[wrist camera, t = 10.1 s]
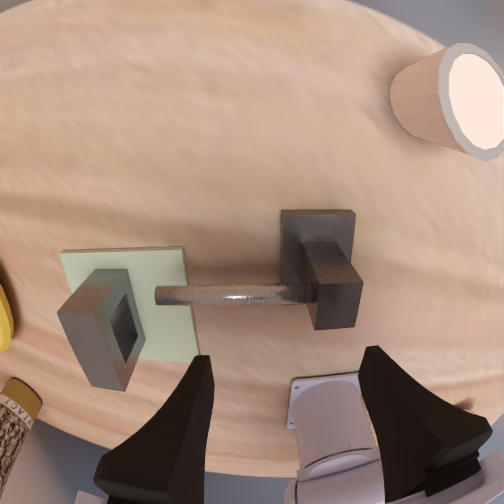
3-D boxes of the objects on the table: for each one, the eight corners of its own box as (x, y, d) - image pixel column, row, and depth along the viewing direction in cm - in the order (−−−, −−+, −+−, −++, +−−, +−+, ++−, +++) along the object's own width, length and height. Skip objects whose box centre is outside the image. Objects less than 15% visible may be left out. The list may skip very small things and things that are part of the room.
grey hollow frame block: (146, 339, 23) (125, 391, 18) (116, 337, 23) (91, 386, 18) (127, 268, 21) (93, 315, 15) (95, 268, 21) (56, 312, 15)
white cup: (364, 73, 16) (417, 54, 9) (431, 50, 14) (490, 35, 8) (405, 160, 18) (464, 180, 12) (464, 130, 17) (525, 140, 10)
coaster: (200, 357, 25) (199, 362, 24) (97, 350, 25) (95, 353, 24) (183, 246, 21) (181, 250, 20) (62, 250, 21) (59, 253, 20)
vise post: (341, 294, 22) (367, 349, 16) (182, 299, 22) (162, 356, 16) (351, 210, 20) (391, 246, 14) (170, 213, 20) (137, 252, 14)
